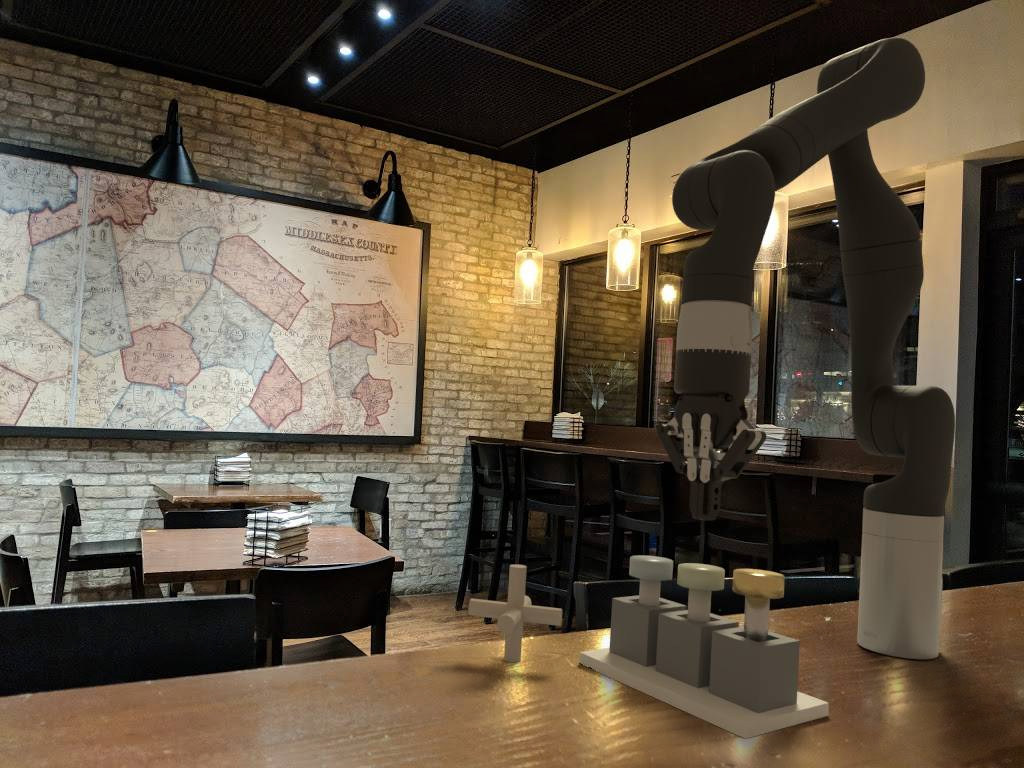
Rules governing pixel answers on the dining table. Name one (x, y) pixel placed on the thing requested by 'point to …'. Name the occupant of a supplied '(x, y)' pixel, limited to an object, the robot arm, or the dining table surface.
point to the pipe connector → (515, 613)
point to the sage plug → (700, 588)
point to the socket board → (706, 667)
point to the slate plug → (650, 576)
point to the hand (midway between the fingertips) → (703, 519)
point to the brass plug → (757, 599)
